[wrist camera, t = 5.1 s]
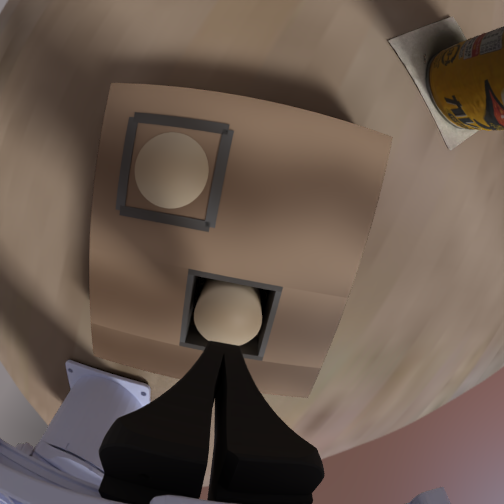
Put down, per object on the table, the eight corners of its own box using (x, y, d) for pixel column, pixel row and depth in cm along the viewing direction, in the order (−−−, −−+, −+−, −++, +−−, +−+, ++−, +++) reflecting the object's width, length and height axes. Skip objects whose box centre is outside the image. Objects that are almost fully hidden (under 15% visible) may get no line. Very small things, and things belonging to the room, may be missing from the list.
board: (300, 361, 22) (308, 398, 18) (115, 325, 21) (93, 356, 17) (364, 139, 17) (393, 137, 13) (138, 95, 16) (110, 82, 12)
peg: (253, 316, 20) (254, 351, 17) (200, 306, 20) (190, 339, 16) (265, 267, 19) (269, 295, 15) (208, 256, 19) (198, 282, 15)
